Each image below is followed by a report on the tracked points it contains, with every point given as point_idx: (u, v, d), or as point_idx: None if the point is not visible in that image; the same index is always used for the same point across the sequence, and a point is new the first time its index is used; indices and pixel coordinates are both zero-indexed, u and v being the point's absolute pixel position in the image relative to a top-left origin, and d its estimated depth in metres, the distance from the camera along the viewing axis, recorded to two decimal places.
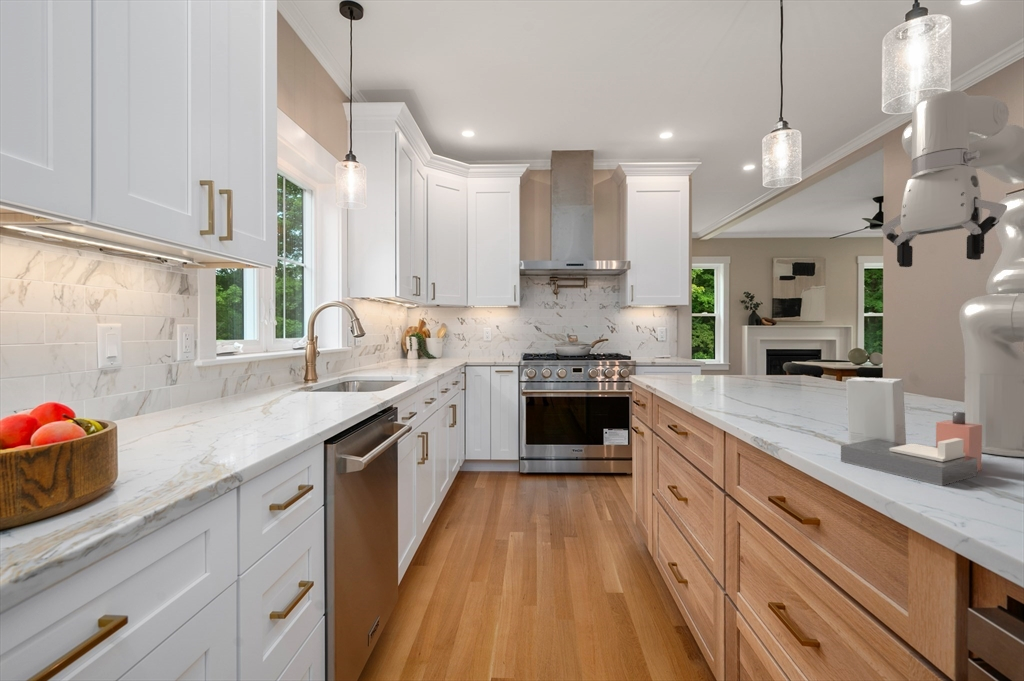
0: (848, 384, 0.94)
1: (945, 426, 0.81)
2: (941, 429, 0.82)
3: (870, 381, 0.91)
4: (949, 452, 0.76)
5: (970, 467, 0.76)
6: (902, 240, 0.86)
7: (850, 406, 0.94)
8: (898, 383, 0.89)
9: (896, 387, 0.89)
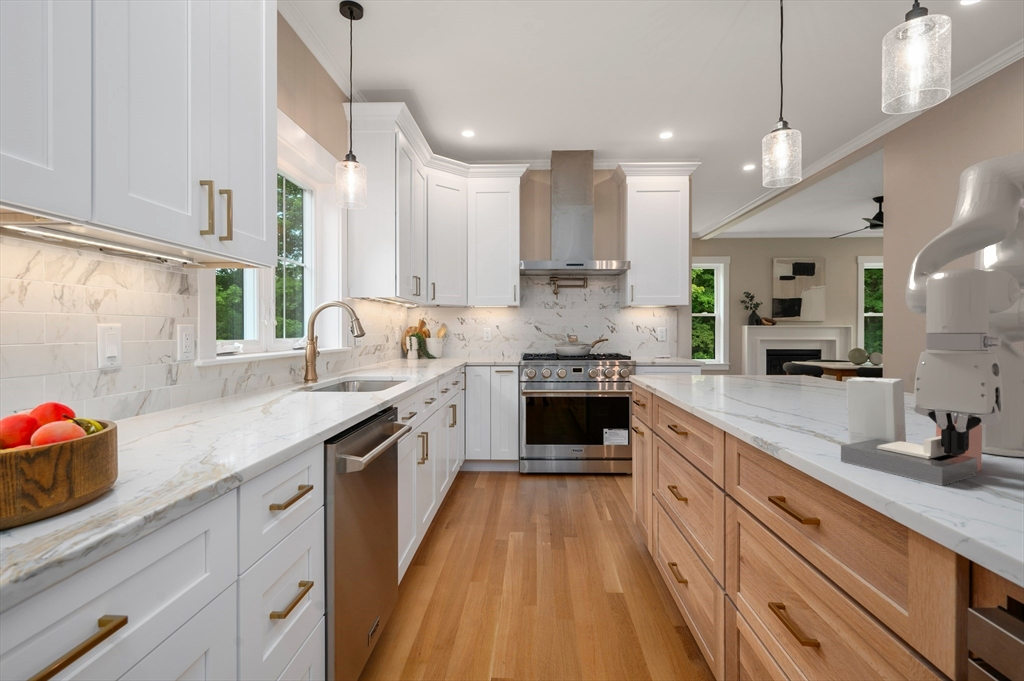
0: (848, 384, 0.94)
1: None
2: None
3: (870, 381, 0.91)
4: (934, 449, 0.77)
5: (970, 467, 0.76)
6: (944, 421, 0.76)
7: (850, 406, 0.94)
8: (898, 383, 0.89)
9: (896, 387, 0.89)
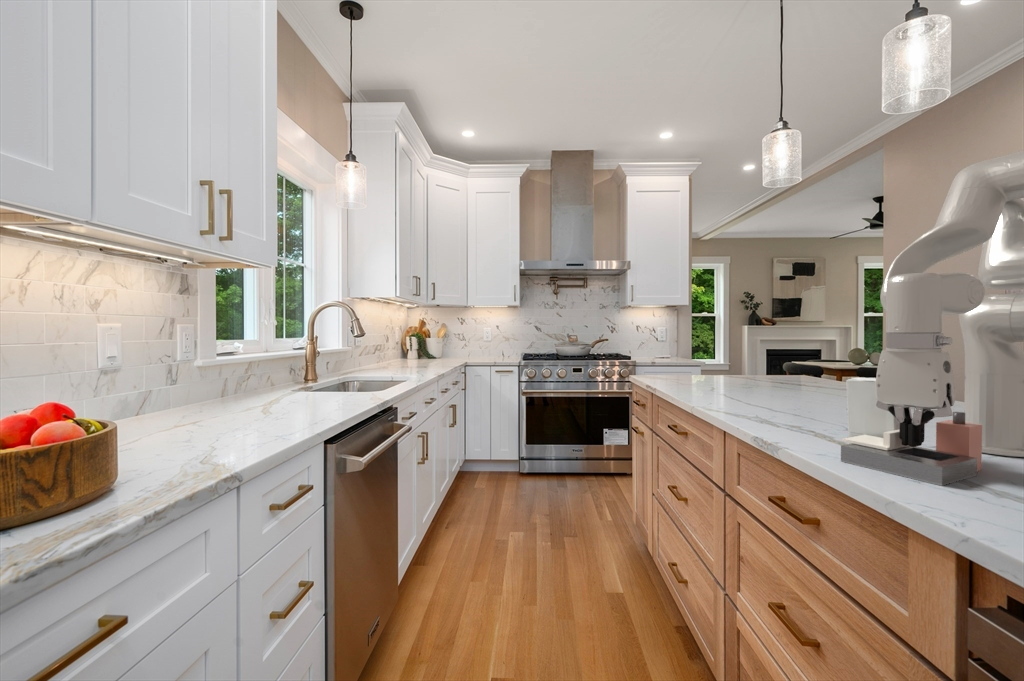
0: (848, 384, 0.94)
1: (945, 426, 0.81)
2: (941, 429, 0.82)
3: (870, 381, 0.91)
4: (893, 441, 0.83)
5: (970, 467, 0.76)
6: (902, 415, 0.82)
7: (850, 406, 0.94)
8: None
9: None
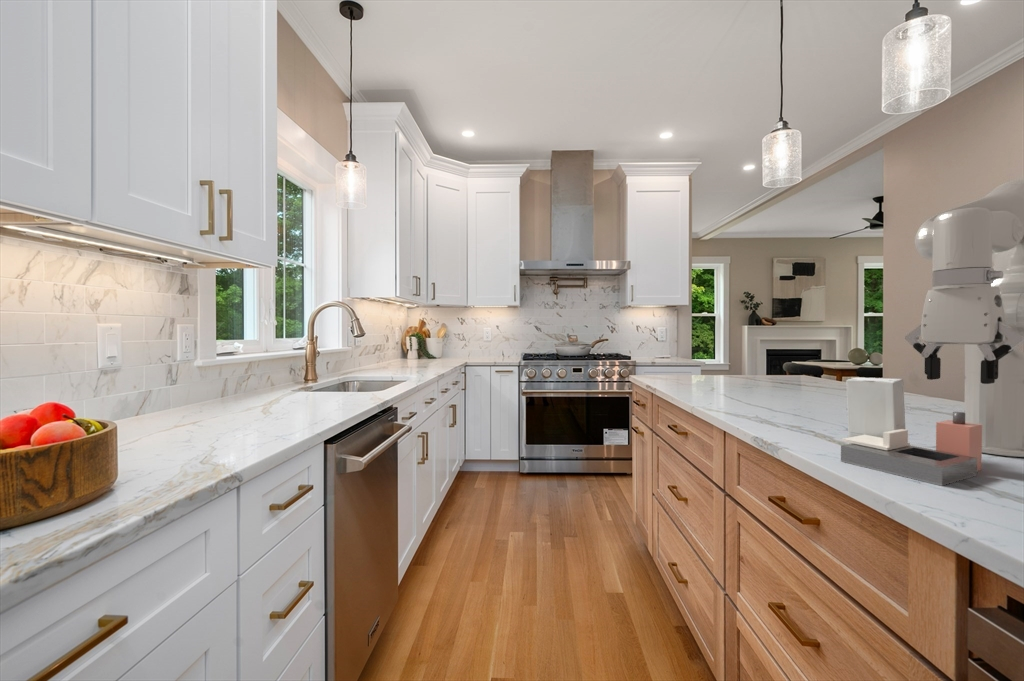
0: (848, 384, 0.94)
1: (945, 426, 0.81)
2: (941, 429, 0.82)
3: (870, 381, 0.91)
4: (893, 441, 0.83)
5: (970, 467, 0.76)
6: (930, 352, 0.84)
7: (850, 406, 0.94)
8: (898, 383, 0.89)
9: (896, 387, 0.89)
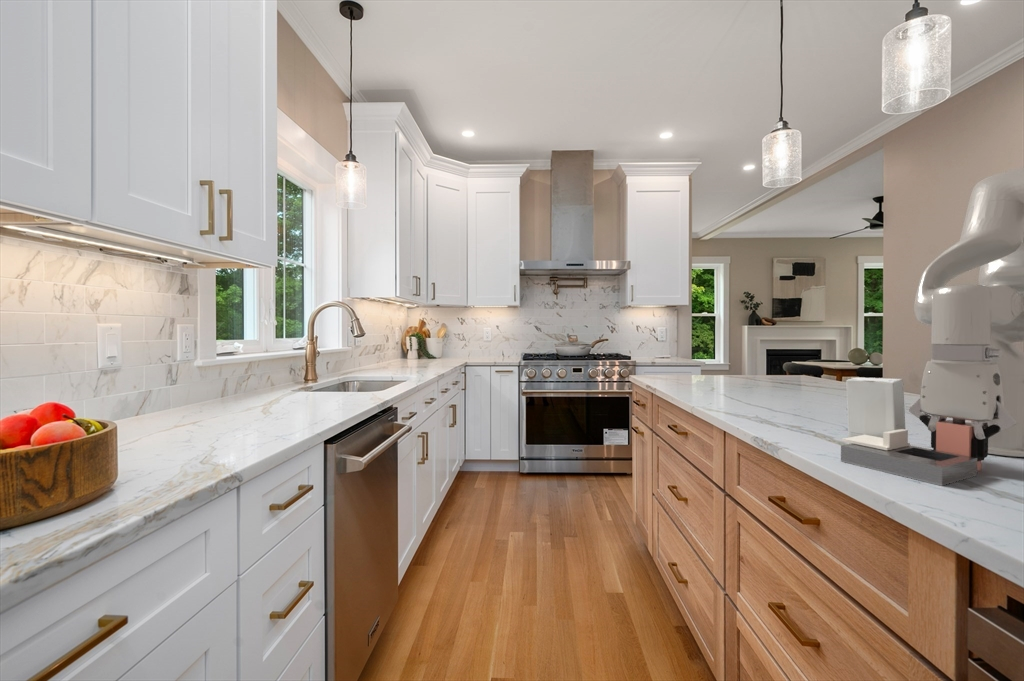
0: (848, 384, 0.94)
1: (945, 426, 0.81)
2: (941, 429, 0.82)
3: (870, 381, 0.91)
4: (893, 441, 0.83)
5: (970, 467, 0.76)
6: (935, 425, 0.83)
7: (850, 406, 0.94)
8: (898, 383, 0.89)
9: (896, 387, 0.89)
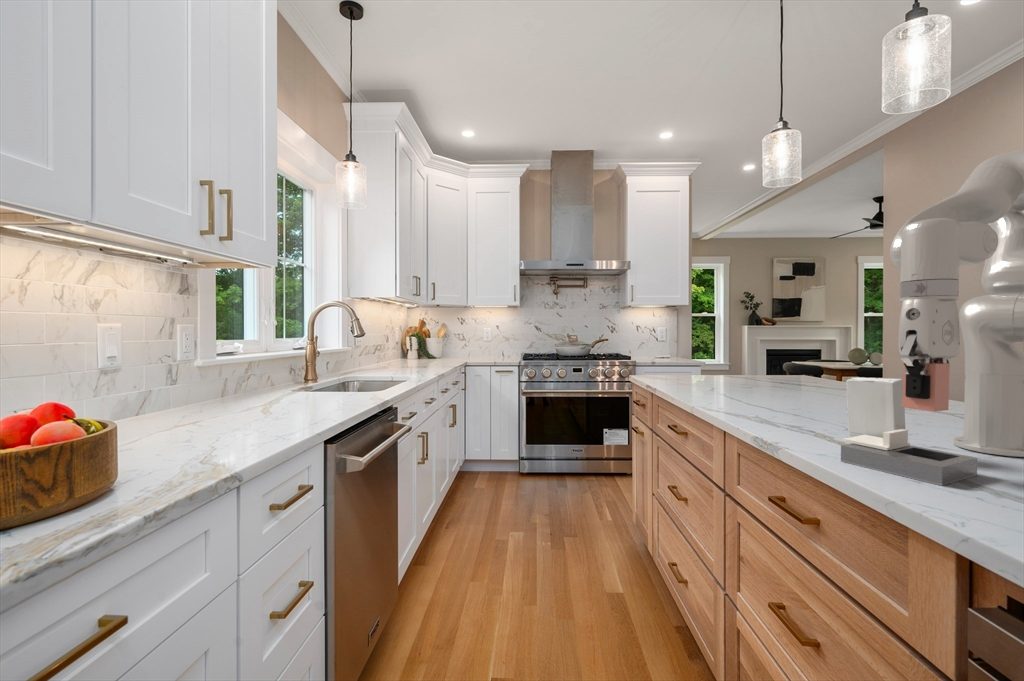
0: (848, 384, 0.94)
1: None
2: None
3: (870, 381, 0.91)
4: (893, 441, 0.83)
5: (970, 467, 0.76)
6: None
7: (850, 406, 0.94)
8: (898, 383, 0.89)
9: (896, 387, 0.89)
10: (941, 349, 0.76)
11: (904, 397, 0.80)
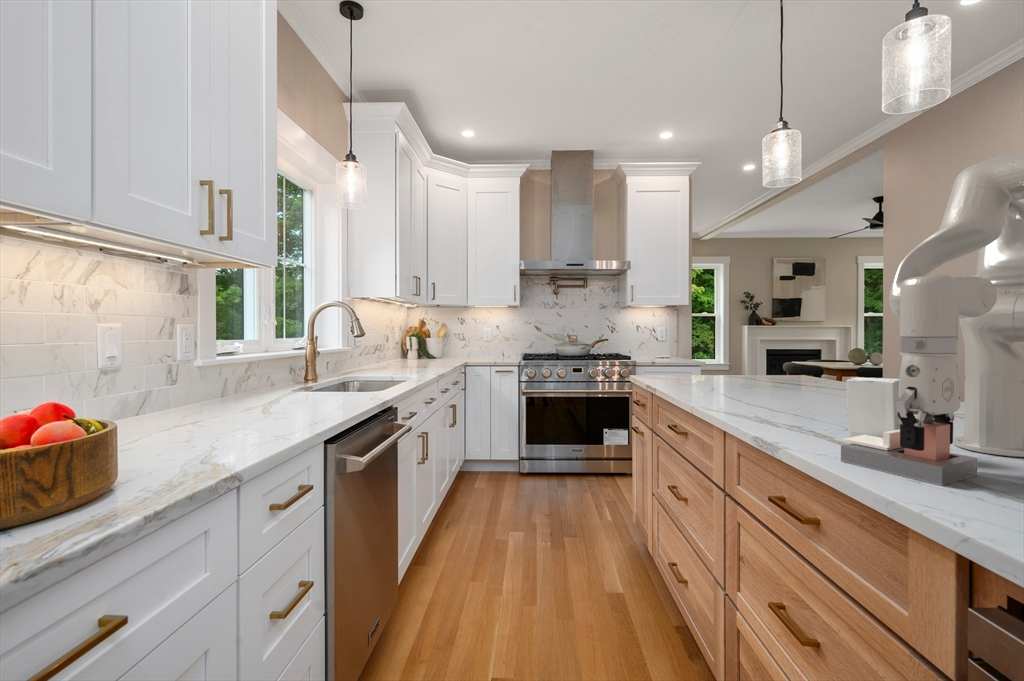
0: (848, 384, 0.94)
1: None
2: None
3: (870, 381, 0.91)
4: (893, 441, 0.83)
5: (970, 467, 0.76)
6: None
7: (850, 406, 0.94)
8: (898, 383, 0.89)
9: (896, 387, 0.89)
10: (942, 406, 0.76)
11: None
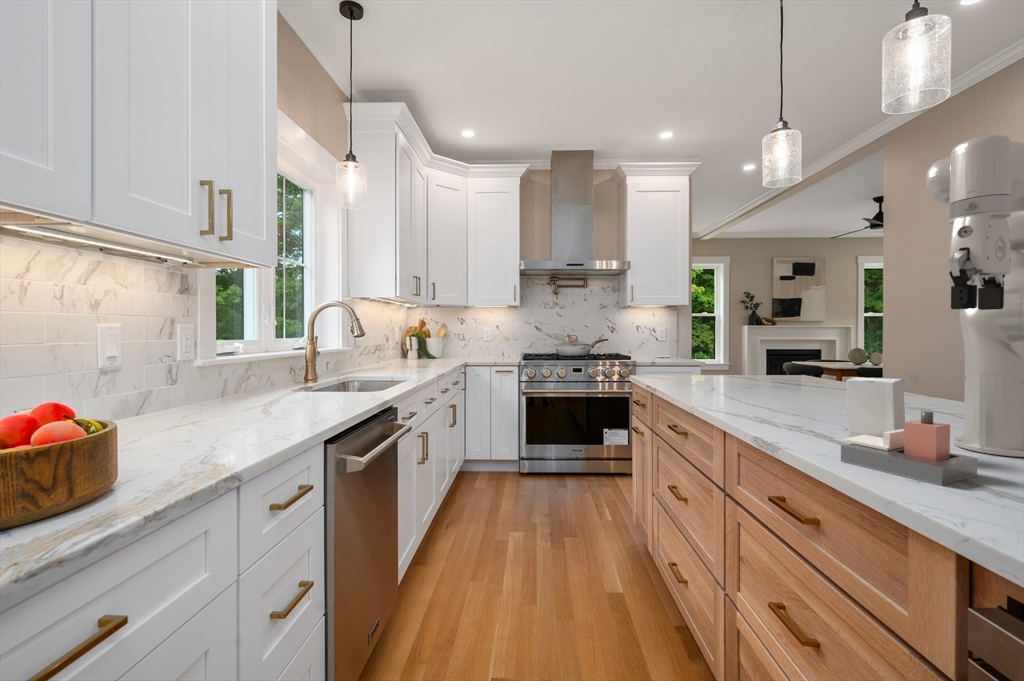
0: (848, 384, 0.94)
1: None
2: None
3: (870, 381, 0.91)
4: (893, 441, 0.83)
5: (970, 467, 0.76)
6: (980, 283, 0.83)
7: (850, 406, 0.94)
8: (898, 383, 0.89)
9: (896, 387, 0.89)
10: (995, 265, 0.77)
11: None
